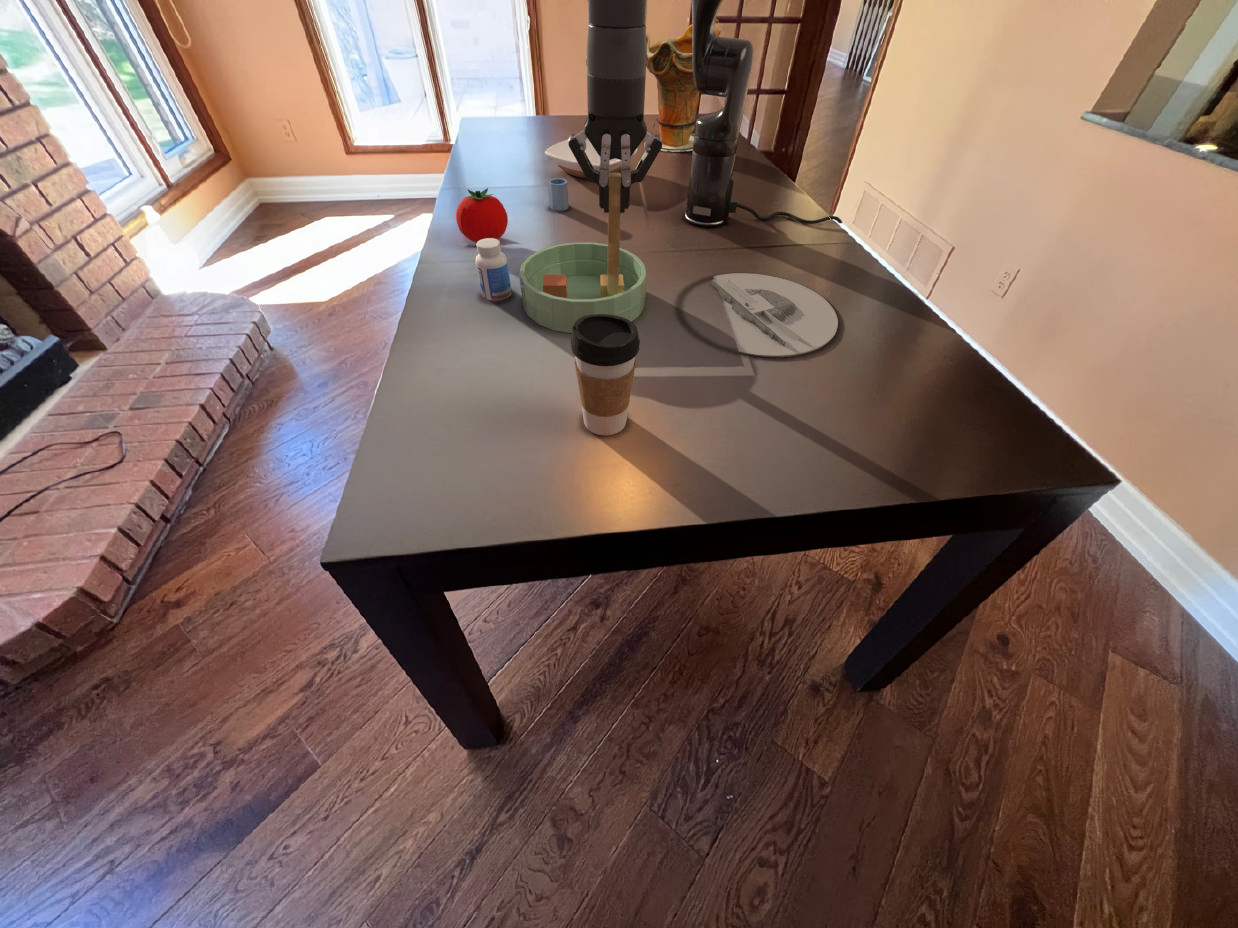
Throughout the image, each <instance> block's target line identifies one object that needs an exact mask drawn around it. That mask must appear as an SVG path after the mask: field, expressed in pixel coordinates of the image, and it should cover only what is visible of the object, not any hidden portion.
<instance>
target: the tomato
mask: <svg viewBox="0 0 1238 928" xmlns="http://www.w3.org/2000/svg"><path fill="white" fill-rule="evenodd" d="M466 190H467V192H468V193H469V195H467V196H465V197H464V198H463V199H462V200H461V201H460V202H459V204H458V206H457V208H456V210H455V211H456V212H455V221H456V224H457V227H458V230H459V232H460V233H461V234H462V235H463V236H464V237H466V239H468V240H470V241H471V242H473V243H477V242H478V241H479V240H482V239H486V238H494V239H497V240H499V239H500V238H502V236H504V234H505V232H506V230H507V228H508V224H509V223H508V222H509V218H508V217H509V216H508V213H507V211H506V209H505V206H504V204H503V203H502V202H501V201H500V199H498V198H497V197H496V196H494V193H491V194H487V193H488V191H489V187H487V188H485V189H484V190H482V191H480V190H475V191H472V190H470V189H468V188H467V189H466Z"/></svg>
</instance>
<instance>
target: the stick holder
mask: <svg viewBox="0 0 1238 928" xmlns="http://www.w3.org/2000/svg"><path fill="white" fill-rule="evenodd" d="M547 186H548V203H549V208H550V209H551V210H553V211H557V212H558V211H559V212H560V211H566V210H568V209H569V208H570V207H569V206H570V204H569V184H568V180H567V179H565V178H562V177H555V178H553V177H552V178H550V179H548V180H547Z"/></svg>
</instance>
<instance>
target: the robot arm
mask: <svg viewBox="0 0 1238 928" xmlns="http://www.w3.org/2000/svg"><path fill="white" fill-rule="evenodd" d="M690 2H691V23H692V63H693V79H694V84H695V87H696V89H697V91H698V92H699V94H702V95H707V96H712V97H713V96H714V97H718V98H719V97H720V98H725V100H724V103H723V107H722V108H720V109H718V110H715V111H712V112H709V113H704V114H703V115H700V116H699V117H698V118H696V123H695V124H694V144H693V151H692V152H691V153H692V155H691V163H690V172H689V182H688V192H687V199H686V207H685V215H684V218H685V220H686V221H687V222H688V223H689V224H691V225H694V226H698V227H704V228H705V227H707V228H713V227H718V226H721V225H728V221H729V214H735V213H736V211H737V208H739V209H742V210H745V211H747V212H749V213H750V214H752V215H753V216H754V217H755V218H756V219H757V220H759V221H768V220H770V219H771V218H773V217H776V216H785V217H788V218H790V219H792V220H795V221H796V222H799V223H802V224H806V225H814V224H815V225H816V224H820V223H823V222H827V221H829V220H830V218H831V220H834V221H835V222H837V223H838V224H843V220H842V219H841V218H840V217H838V216H836V215H829V217H830V218H829V217H828V216H825V217H822V218H818V219H813V220H811V219H810V220H809V219H803V218H801V217H799V216H797V215H794V214H792V213H789V212H787V211H774V212H772V213H770V214H768V215H766V216H761V215H760V214H759V213H758V212H757V211H756V210H755V209H754V208H752V207H749V206H748V205H745V204H741V203H738V201H737V199H736V197H735V195H733V190H734V185H735V178H734V176H733V175H734V167H735V162H736V157H737V150H738V143H739V137H740V133H741V132H740V131H741V126H742V121H743V117H744V111H745V106H746V100H747V95H748V91H749V87H750V81H751V77H752V72H753V67H754V58H755V50H754V45H753V43H752V41H750V40H748V39H744V38H736V37H727V36H719V37H718V36H717V34H716V31H715V28H716V21H717V20H716V19H717V16H718V13H719V11H720V8H721V6H722V4H723V2H724V0H690ZM647 9H648V0H587V22H588V24H587V35H586V58H585V59H586V60H585V65H586V94H587V95H586V97H587V98H586V100H587V101H586V104H587V117H586V121H585V122H584V126H583V129H582V130H581V131H579V132H578V133H576V134H574V133H573V134H572V133H571V134H570V135H569V137H568V139H569V147H570V149H571V151H572V153H573V155H574V156H575V158H576V160H577V162H578V164H579V166H580V167H581V169H582V171H583V173H584V175H585V176H586V178H585V179H586V180H587V181H588V182H589V183H594V184H596V185H598V200H599V201H598V206H599V209H601V210H603V213H604V214H608V213H609V187H608V171H609V160H612V159H619V160H621V168H620V169H621V172H620V173H621V192H620V214H625V212H626V210H628V209H629V207H630V200H631V199H630V198H631V187H632V185H633V184H635V183H641V182H642V183H643V181H644V178H645V177H646V176H647V174H648V173H649V170H650V169H651V167H652V165H653V163H655V161H656V158H658V155H659V153H660V152H661V151H662V150H661V148H662V141H661V139H660V137H659V136H655V135H654V134H653V133H652V132H650V131H649V130H648V127H647V124H646V122H645V100H646V99H645V98H646V79H647V77H646V76H647V66H646V64H647V61H646V59H647V40H646V35H647V13H648V11H647ZM587 138H588V140H589V141H590V143H591V144H592V146H593V147H594V149H595V150H596V152H597V154H598V155H599V156H600V168H599V171H597V170H595V169H594V168H593V166H592V164H591V162H590V160H589V158H588V157H587V155H586V153H585V150H586V142H585V141H586V139H587ZM643 140H644V143H643V147H644V148H643V149H644V153H643V154H642V156H641V158H640V159H639V162H637V165H636V166H635V169H633V170H632V168H631V165H632V164H631V158H632V157H633V156H634V155H633V153H634V152H635V150H636V149H637V148H638V149H639V146H640V145H641V143H642V142H643ZM632 155H633V156H632ZM631 156H632V157H631ZM630 157H631V158H630Z"/></svg>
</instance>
